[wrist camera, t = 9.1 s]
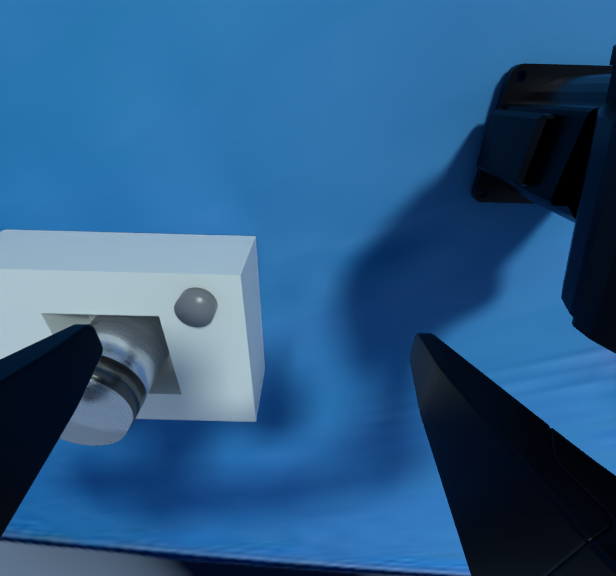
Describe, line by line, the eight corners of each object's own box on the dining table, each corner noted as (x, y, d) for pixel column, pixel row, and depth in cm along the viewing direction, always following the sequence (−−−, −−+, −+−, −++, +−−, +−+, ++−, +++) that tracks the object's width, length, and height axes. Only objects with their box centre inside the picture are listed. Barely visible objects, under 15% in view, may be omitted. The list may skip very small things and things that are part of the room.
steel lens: (171, 297, 20) (111, 386, 14) (184, 354, 23) (139, 448, 17) (91, 293, 20) (-2, 381, 14) (115, 351, 23) (45, 443, 17)
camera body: (255, 236, 20) (237, 283, 15) (265, 368, 26) (254, 432, 21) (5, 229, 20) (-96, 274, 15) (75, 363, 26) (21, 426, 21)
